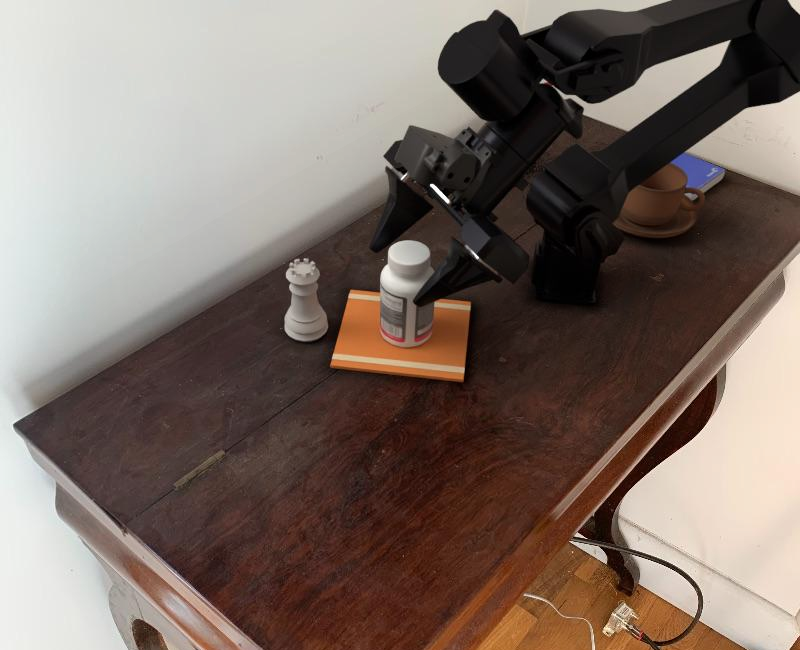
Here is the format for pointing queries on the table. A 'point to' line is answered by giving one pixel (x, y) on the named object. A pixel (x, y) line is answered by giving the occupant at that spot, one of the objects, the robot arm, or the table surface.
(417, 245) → the pill bottle
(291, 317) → the rook chess piece
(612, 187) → the robot arm
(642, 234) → the cup and saucer
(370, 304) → the towel
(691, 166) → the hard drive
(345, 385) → the table surface
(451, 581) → the table surface
